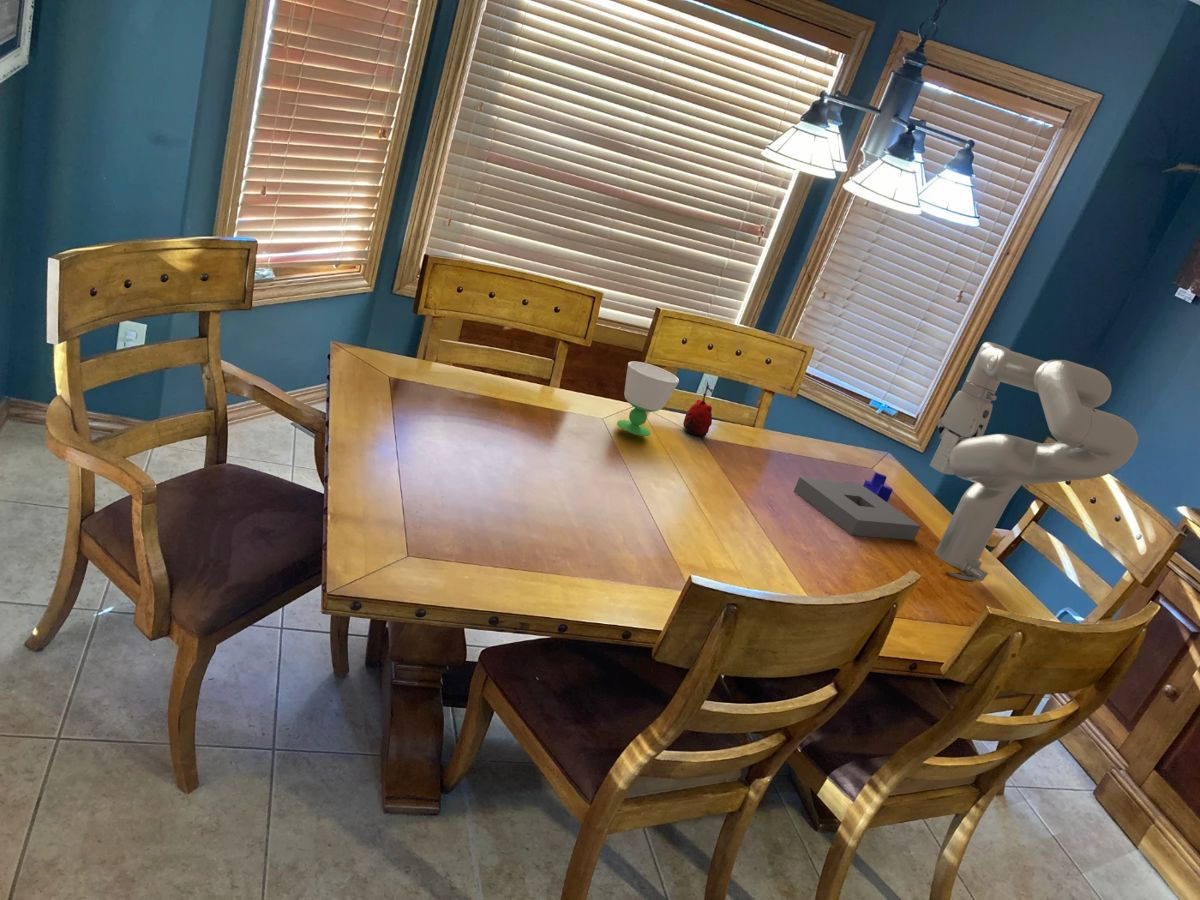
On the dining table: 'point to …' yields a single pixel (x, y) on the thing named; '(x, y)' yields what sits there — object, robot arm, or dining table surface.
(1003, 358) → the robot arm
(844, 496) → the well block
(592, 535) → the dining table surface
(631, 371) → the cup
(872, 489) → the blue stepped block
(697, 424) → the red fruit with stem
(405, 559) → the dining table surface
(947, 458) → the metal bar
